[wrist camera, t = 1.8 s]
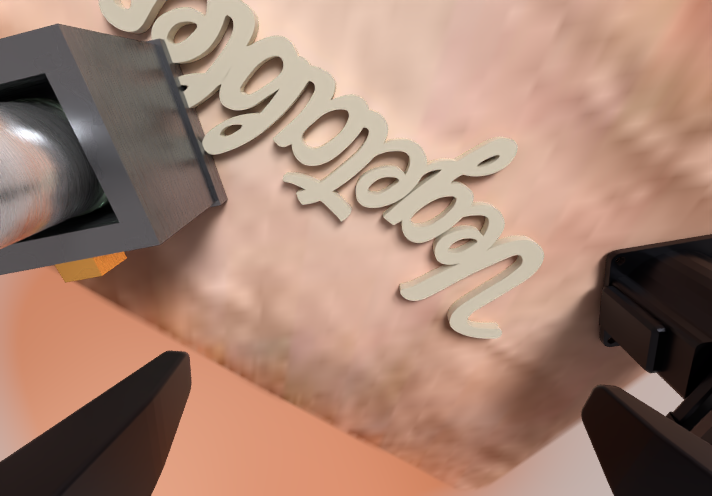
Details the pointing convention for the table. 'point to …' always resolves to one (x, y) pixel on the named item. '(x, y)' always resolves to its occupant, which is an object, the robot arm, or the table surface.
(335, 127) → the table surface
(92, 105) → the stand collar
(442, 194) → the decorative sign
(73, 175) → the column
